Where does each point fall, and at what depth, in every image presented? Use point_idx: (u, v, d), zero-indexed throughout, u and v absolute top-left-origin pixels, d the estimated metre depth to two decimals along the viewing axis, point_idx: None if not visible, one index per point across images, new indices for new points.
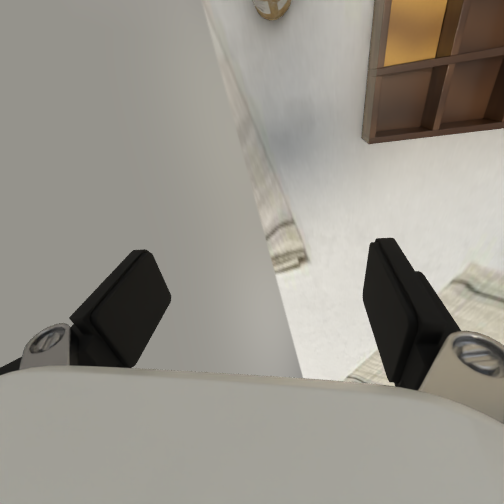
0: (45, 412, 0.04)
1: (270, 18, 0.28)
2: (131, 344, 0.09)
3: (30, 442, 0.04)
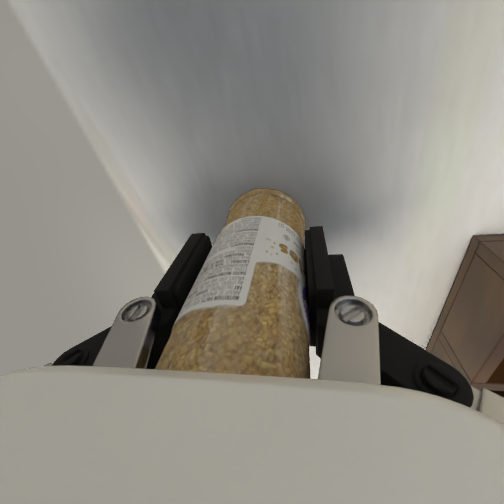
0: (45, 412, 0.04)
1: None
2: None
3: (30, 442, 0.04)
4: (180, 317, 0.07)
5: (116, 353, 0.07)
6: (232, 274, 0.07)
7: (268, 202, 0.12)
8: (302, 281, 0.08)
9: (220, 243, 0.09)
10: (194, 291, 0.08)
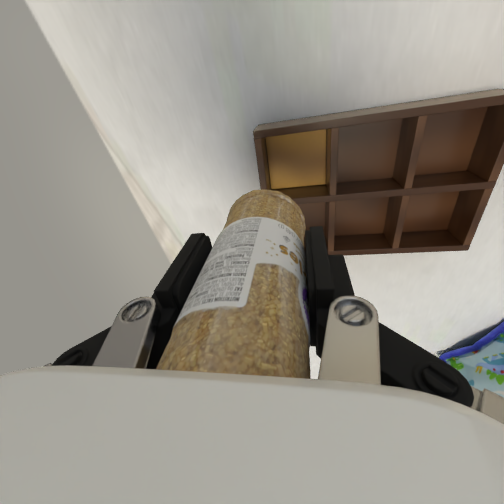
0: (45, 412, 0.04)
1: None
2: None
3: (30, 442, 0.04)
4: (180, 318, 0.07)
5: (116, 353, 0.06)
6: (232, 275, 0.07)
7: (268, 203, 0.12)
8: (302, 282, 0.08)
9: (220, 244, 0.09)
10: (194, 292, 0.08)
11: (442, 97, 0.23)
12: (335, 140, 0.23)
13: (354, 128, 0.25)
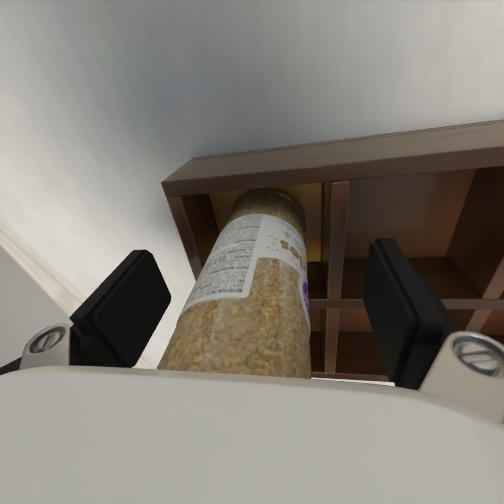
0: (45, 412, 0.04)
1: None
2: (131, 344, 0.09)
3: (30, 442, 0.04)
4: (185, 310, 0.07)
5: None
6: (235, 269, 0.08)
7: (269, 201, 0.12)
8: (302, 276, 0.09)
9: (223, 240, 0.10)
10: (198, 285, 0.08)
11: None
12: (341, 206, 0.10)
13: None
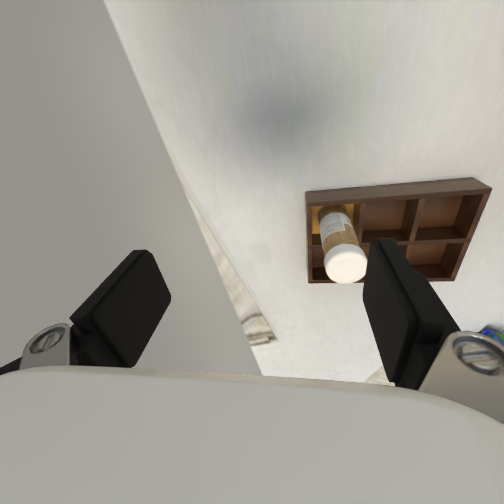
0: (45, 412, 0.04)
1: None
2: (131, 344, 0.09)
3: (30, 442, 0.04)
4: (328, 235, 0.31)
5: None
6: (339, 226, 0.31)
7: (337, 208, 0.35)
8: (353, 229, 0.32)
9: (328, 220, 0.33)
10: (329, 230, 0.31)
11: (435, 181, 0.34)
12: (363, 210, 0.33)
13: None
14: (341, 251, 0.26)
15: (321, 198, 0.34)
